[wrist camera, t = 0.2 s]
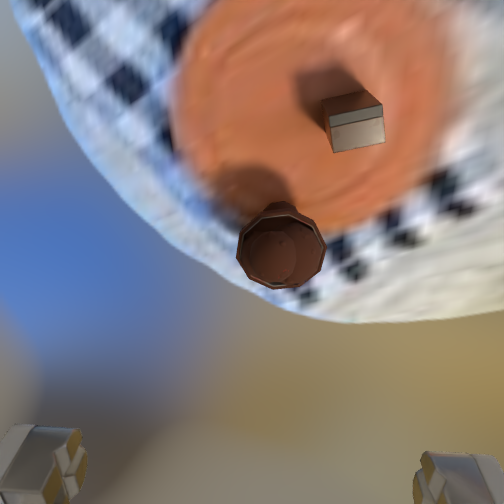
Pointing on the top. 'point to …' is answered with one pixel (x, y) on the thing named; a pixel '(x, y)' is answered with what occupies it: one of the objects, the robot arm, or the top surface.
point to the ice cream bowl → (281, 247)
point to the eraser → (353, 121)
